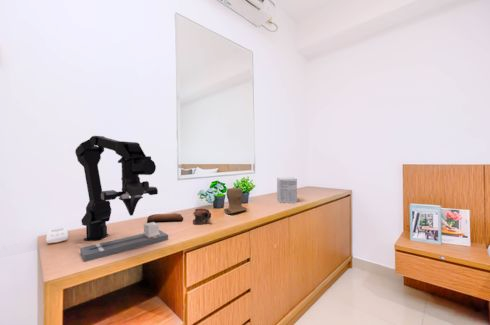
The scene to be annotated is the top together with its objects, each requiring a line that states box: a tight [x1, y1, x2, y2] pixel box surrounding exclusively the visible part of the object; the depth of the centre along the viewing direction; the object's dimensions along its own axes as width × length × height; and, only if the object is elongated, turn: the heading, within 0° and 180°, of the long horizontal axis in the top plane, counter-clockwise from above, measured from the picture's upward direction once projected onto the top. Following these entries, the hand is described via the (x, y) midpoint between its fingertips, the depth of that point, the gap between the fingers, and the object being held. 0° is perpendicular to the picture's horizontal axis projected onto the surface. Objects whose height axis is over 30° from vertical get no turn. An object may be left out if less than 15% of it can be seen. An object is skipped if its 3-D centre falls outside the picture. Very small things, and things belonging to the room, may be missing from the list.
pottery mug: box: [192, 208, 212, 225], centre depth 116 cm, size 12×10×8 cm
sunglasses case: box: [146, 212, 185, 224], centre depth 121 cm, size 18×7×7 cm
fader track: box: [79, 229, 169, 262], centre depth 85 cm, size 28×9×2 cm, turn 133°
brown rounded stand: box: [223, 187, 248, 215], centre depth 138 cm, size 15×12×15 cm
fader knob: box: [142, 222, 160, 238], centre depth 91 cm, size 4×6×4 cm
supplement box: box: [276, 177, 298, 204], centre depth 171 cm, size 13×13×18 cm
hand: (131, 215), depth 86 cm, fingers closed
